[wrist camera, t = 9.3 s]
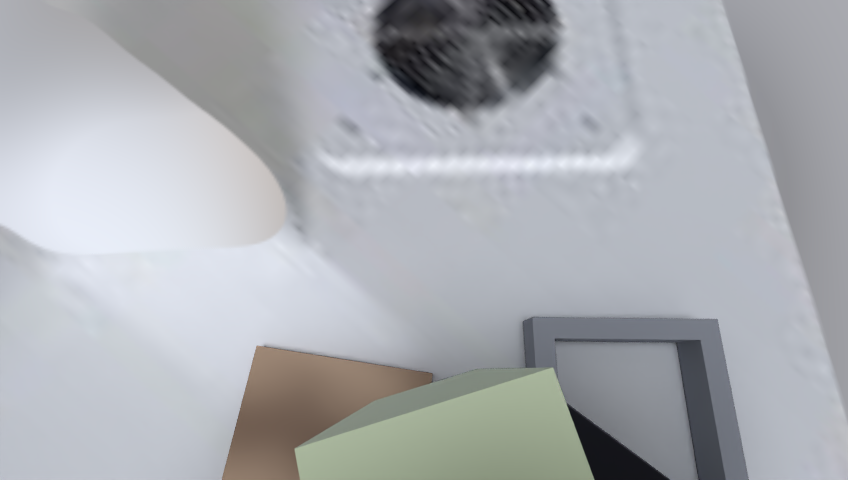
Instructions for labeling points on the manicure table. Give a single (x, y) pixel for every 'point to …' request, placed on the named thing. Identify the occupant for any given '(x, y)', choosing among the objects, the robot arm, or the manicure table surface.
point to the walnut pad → (302, 406)
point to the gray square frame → (699, 367)
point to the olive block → (455, 433)
